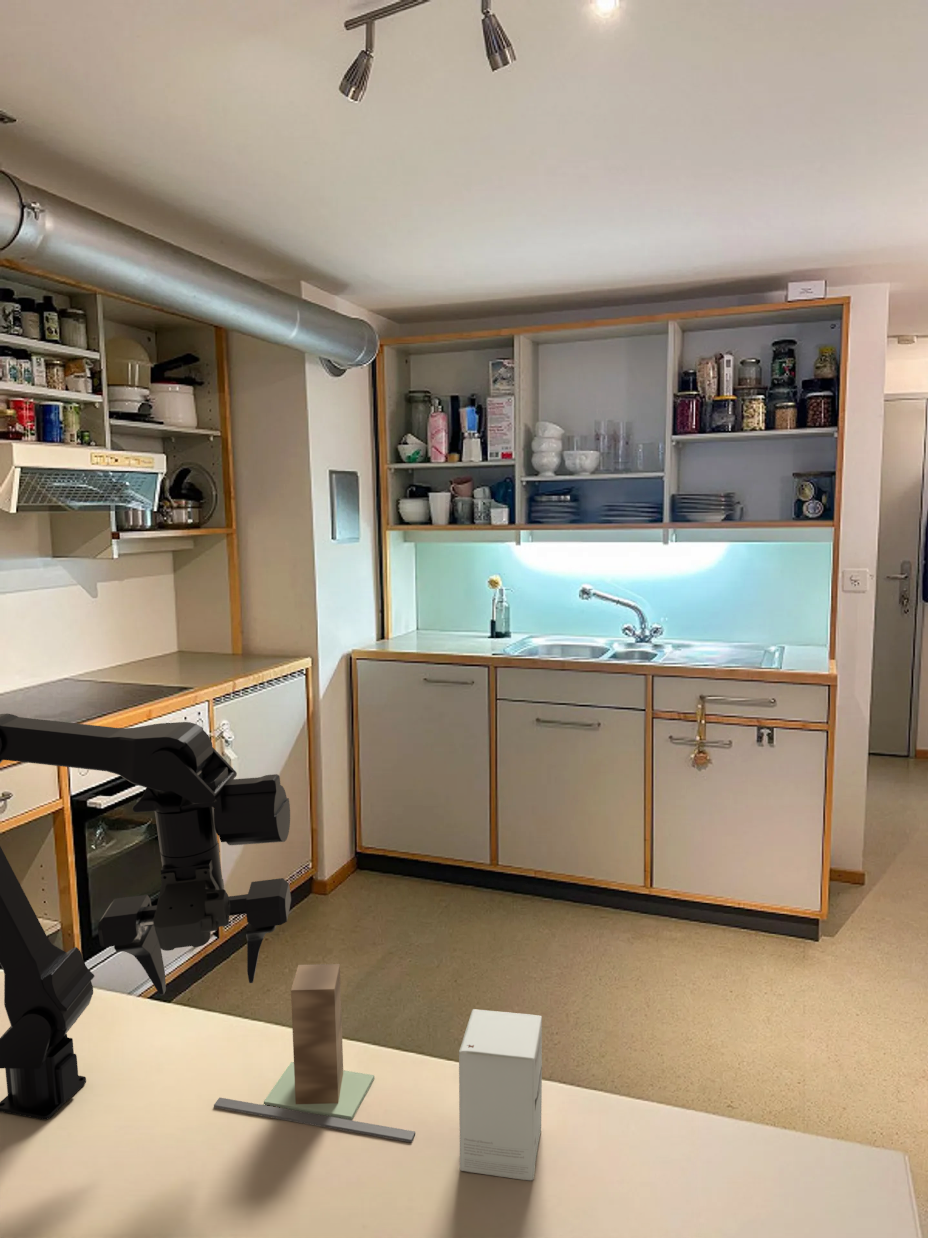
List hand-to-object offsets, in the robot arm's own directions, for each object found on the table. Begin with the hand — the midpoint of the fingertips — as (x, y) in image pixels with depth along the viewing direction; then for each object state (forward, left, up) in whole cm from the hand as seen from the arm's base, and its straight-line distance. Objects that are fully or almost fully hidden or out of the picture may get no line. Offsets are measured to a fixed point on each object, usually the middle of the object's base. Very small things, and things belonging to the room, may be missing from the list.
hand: (207, 987), depth 94 cm
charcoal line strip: (+12, -1, -13) cm, 17 cm away
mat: (+11, +4, -13) cm, 17 cm away
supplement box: (+32, 0, -13) cm, 34 cm away
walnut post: (+11, +4, -13) cm, 17 cm away
